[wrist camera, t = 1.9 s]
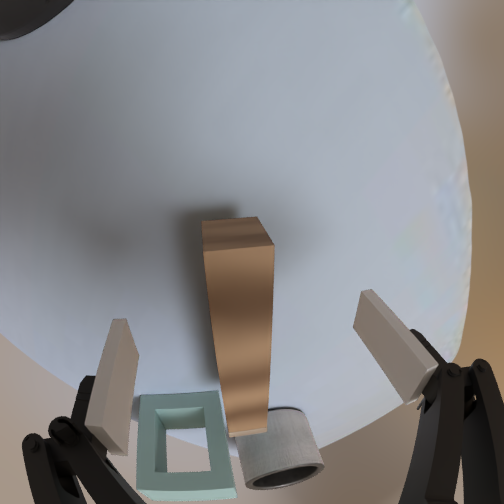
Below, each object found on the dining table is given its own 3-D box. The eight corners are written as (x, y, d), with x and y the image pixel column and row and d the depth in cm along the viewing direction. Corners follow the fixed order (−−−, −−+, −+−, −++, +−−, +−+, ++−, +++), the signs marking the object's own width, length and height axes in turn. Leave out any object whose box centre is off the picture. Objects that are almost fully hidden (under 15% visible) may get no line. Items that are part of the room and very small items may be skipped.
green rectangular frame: (140, 395, 32) (136, 489, 20) (218, 390, 34) (234, 487, 21) (152, 416, 35) (152, 500, 22) (222, 412, 37) (237, 497, 24)
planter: (239, 444, 43) (249, 494, 33) (228, 415, 38) (239, 477, 28) (303, 430, 45) (321, 477, 35) (306, 397, 39) (330, 455, 29)
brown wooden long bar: (200, 221, 20) (202, 252, 15) (257, 216, 20) (275, 245, 16) (223, 401, 29) (229, 437, 25) (257, 396, 30) (267, 431, 26)
